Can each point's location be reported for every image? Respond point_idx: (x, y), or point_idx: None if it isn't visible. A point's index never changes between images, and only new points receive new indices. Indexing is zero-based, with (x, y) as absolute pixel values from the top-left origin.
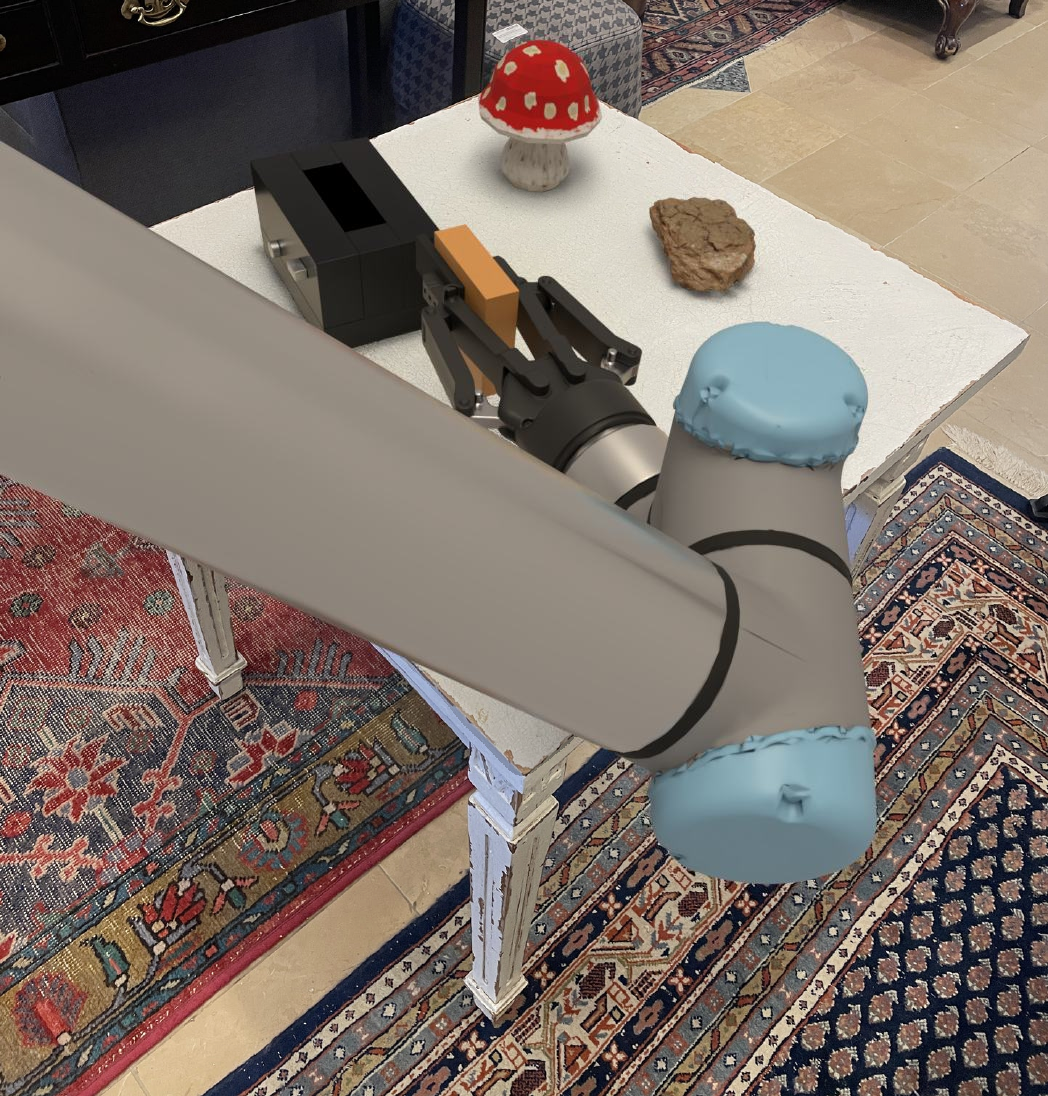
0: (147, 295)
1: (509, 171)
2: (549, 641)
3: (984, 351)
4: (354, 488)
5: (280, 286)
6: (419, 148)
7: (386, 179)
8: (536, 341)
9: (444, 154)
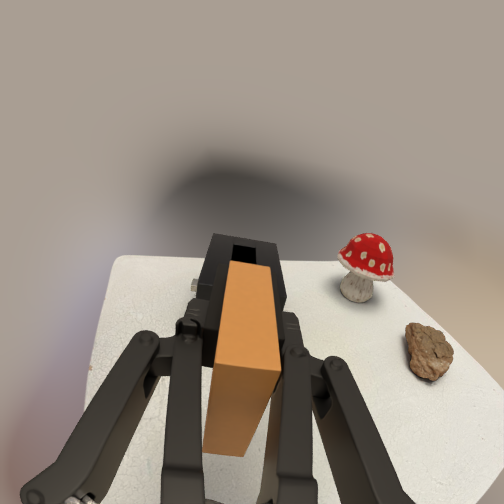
0: None
1: (343, 287)
2: None
3: None
4: None
5: None
6: (306, 267)
7: (272, 261)
8: (271, 457)
9: (316, 273)
